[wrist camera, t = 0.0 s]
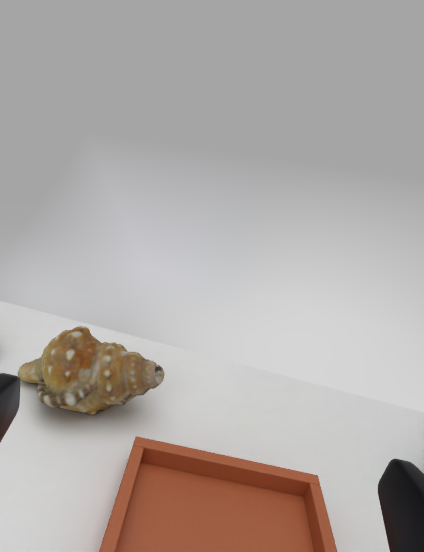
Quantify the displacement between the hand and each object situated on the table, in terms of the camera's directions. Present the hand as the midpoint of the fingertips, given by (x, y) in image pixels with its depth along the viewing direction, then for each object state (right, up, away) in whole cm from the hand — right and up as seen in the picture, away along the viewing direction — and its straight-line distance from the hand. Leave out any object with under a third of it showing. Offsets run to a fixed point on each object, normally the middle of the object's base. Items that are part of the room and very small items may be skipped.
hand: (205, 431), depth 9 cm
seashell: (-11, -7, +23) cm, 26 cm away
